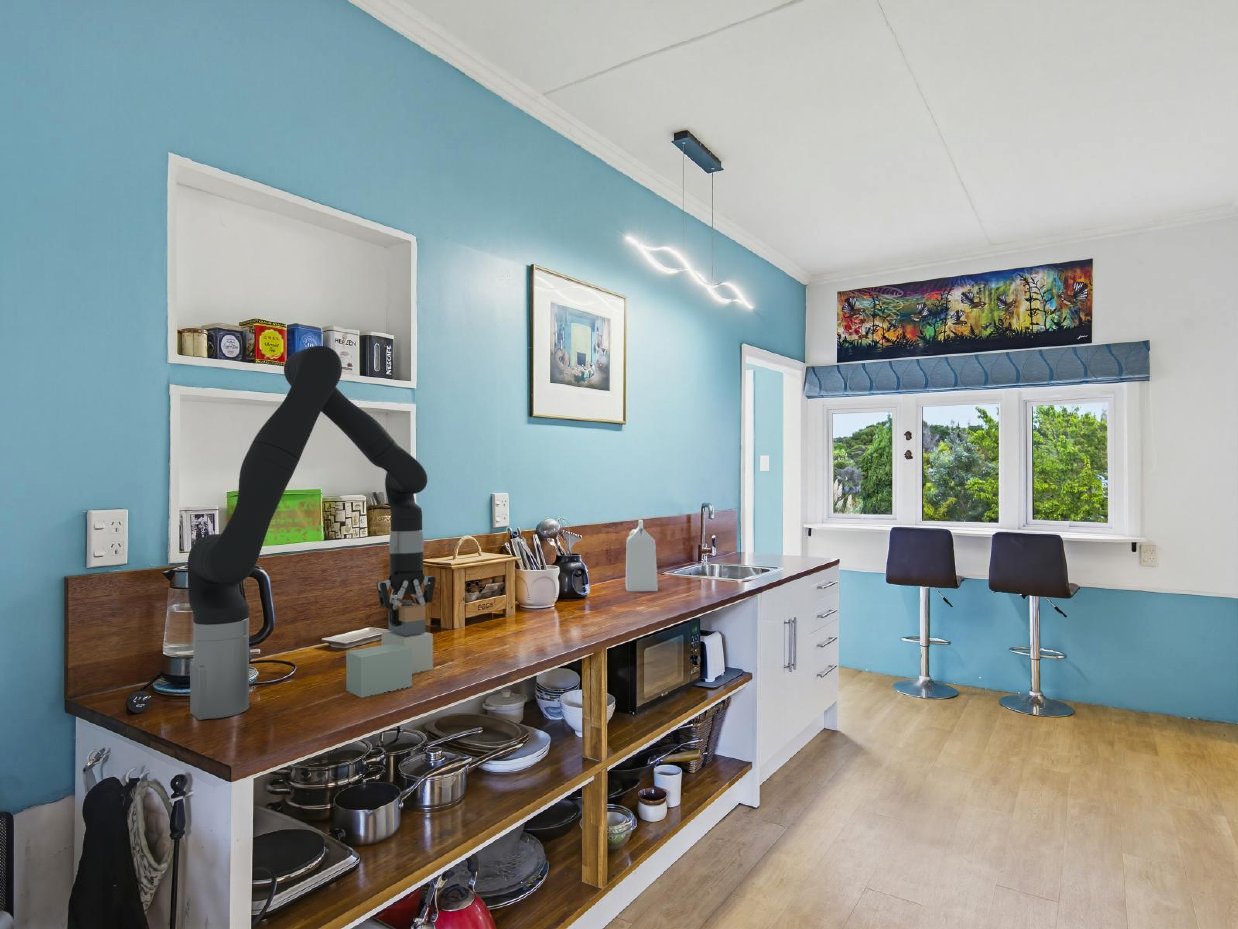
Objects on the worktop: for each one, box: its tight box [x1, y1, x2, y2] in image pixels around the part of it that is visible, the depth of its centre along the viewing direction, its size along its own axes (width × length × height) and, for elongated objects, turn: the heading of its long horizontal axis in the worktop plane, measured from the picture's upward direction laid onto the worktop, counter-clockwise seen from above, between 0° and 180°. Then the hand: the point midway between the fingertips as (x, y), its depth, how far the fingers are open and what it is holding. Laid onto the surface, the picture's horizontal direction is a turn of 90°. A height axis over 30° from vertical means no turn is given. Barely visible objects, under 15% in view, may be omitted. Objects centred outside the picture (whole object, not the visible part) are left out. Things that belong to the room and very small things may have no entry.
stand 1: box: [345, 643, 413, 699], centre depth 154 cm, size 11×7×8 cm, turn 134°
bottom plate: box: [387, 619, 426, 636], centre depth 170 cm, size 8×5×3 cm, turn 44°
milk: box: [624, 519, 659, 592], centre depth 283 cm, size 12×12×26 cm
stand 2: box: [381, 630, 434, 675], centre depth 170 cm, size 7×11×8 cm, turn 44°
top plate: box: [397, 599, 427, 622], centre depth 170 cm, size 8×5×4 cm, turn 43°
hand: (406, 623), depth 170 cm, fingers open, 5 cm apart
